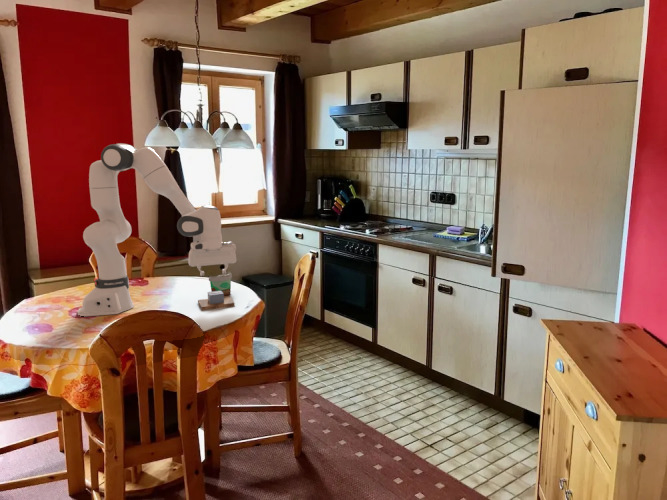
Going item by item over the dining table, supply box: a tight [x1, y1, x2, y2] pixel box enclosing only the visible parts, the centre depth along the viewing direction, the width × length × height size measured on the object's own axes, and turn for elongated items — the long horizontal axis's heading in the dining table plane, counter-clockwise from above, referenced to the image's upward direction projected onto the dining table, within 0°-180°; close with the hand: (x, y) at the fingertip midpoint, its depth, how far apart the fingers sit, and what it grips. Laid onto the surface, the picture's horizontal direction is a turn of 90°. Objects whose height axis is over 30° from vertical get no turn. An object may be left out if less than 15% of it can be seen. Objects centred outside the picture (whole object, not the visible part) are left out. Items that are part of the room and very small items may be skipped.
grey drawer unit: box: [207, 291, 224, 304], centre depth 235 cm, size 6×6×4 cm
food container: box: [208, 271, 233, 297], centre depth 251 cm, size 12×6×10 cm, turn 143°
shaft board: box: [197, 295, 236, 311], centre depth 236 cm, size 14×12×4 cm
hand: (213, 274), depth 234 cm, fingers open, 8 cm apart
